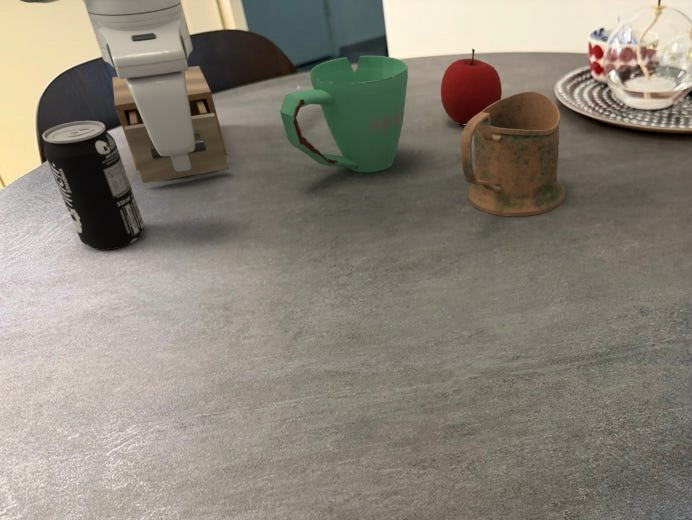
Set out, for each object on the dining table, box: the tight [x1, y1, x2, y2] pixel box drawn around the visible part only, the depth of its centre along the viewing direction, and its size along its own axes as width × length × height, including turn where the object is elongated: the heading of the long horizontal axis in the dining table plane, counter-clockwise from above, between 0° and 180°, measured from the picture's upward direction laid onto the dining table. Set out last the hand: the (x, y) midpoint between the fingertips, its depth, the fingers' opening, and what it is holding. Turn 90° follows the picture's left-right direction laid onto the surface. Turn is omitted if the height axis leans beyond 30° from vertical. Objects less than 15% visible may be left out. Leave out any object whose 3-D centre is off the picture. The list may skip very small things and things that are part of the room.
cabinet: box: [111, 65, 228, 172], centre depth 96 cm, size 14×12×9 cm
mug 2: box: [460, 90, 566, 217], centre depth 78 cm, size 12×18×12 cm, turn 152°
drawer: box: [124, 99, 229, 184], centre depth 89 cm, size 17×10×7 cm, turn 24°
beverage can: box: [41, 120, 145, 251], centre depth 73 cm, size 7×7×12 cm
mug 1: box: [279, 55, 409, 173], centre depth 87 cm, size 18×12×12 cm
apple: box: [440, 48, 503, 125], centre depth 101 cm, size 9×9×10 cm
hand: (182, 166), depth 80 cm, fingers closed
